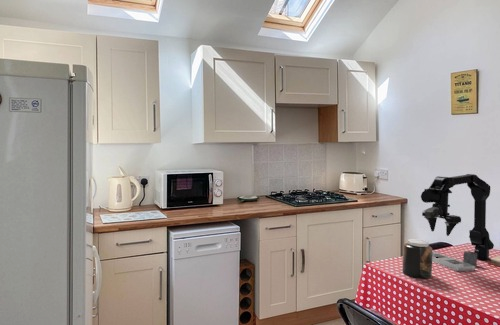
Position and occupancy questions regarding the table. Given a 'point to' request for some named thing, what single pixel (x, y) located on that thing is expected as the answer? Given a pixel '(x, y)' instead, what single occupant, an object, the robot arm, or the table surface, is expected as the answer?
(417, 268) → the jar
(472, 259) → the dark grey block
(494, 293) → the table surface
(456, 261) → the metal plate with holes
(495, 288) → the table surface
